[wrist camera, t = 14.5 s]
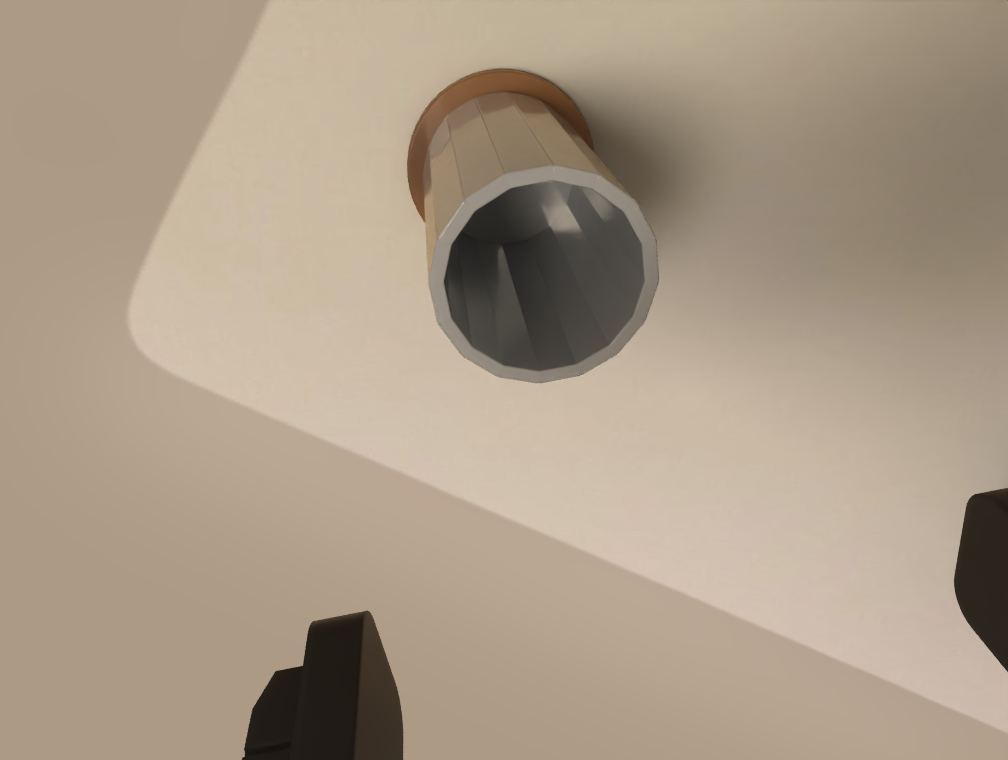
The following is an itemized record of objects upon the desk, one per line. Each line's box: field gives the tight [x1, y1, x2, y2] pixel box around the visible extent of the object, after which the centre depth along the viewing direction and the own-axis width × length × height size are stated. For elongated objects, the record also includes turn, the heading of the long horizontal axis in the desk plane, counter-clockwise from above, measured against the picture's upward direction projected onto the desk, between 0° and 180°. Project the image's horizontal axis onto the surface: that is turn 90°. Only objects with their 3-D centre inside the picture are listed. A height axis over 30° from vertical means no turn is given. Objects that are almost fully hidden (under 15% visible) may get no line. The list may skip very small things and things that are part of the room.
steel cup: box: [423, 92, 659, 383], centre depth 25 cm, size 6×6×11 cm
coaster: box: [407, 69, 594, 222], centre depth 30 cm, size 7×7×1 cm
